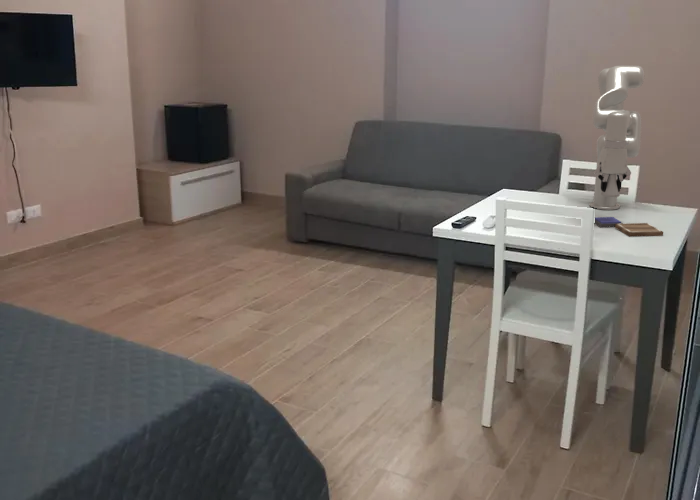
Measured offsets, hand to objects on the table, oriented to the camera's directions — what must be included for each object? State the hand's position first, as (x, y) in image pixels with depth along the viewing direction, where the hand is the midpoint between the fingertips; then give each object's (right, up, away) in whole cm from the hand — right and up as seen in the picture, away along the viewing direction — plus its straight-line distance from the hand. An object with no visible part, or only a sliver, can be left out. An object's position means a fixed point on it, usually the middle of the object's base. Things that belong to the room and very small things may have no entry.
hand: (610, 190), depth 281 cm
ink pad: (0, -13, +4) cm, 14 cm away
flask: (0, -2, +1) cm, 2 cm away
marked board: (+8, -16, -7) cm, 19 cm away
